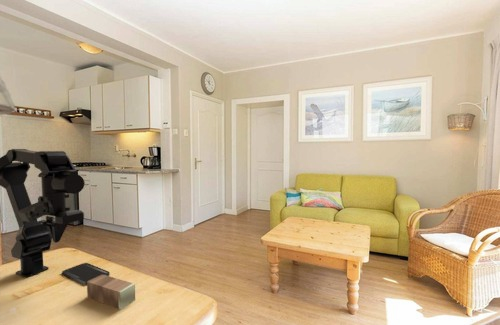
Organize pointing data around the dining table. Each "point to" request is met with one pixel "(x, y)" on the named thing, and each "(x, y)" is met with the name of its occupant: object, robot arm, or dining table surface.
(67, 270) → the phone
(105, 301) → the walnut block
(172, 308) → the dining table surface
